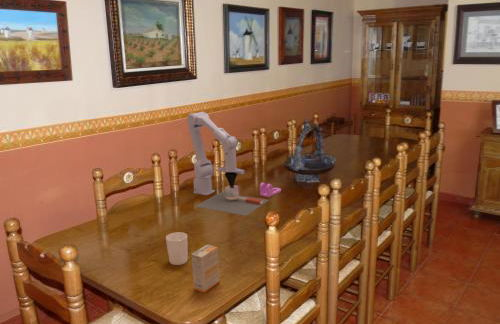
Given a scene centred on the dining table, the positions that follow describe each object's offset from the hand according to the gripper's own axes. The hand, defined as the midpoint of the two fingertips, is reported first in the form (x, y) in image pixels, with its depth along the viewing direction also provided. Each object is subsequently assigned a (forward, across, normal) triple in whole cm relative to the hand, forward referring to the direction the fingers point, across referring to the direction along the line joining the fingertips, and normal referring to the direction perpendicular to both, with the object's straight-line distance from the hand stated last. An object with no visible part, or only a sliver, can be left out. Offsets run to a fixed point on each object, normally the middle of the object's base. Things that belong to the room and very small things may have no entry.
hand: (231, 186), depth 232 cm
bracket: (+8, +14, +18) cm, 24 cm away
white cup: (+8, +18, -67) cm, 70 cm away
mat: (+8, +3, -5) cm, 10 cm away
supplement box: (+8, +38, -77) cm, 86 cm away
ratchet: (+7, +7, 0) cm, 10 cm away
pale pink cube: (+5, 0, 0) cm, 5 cm away
